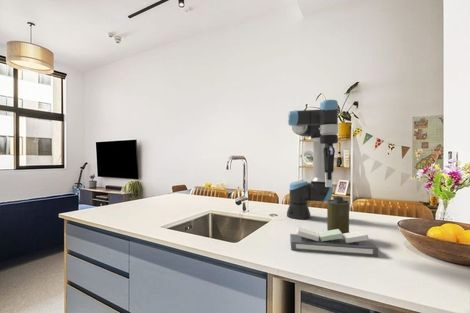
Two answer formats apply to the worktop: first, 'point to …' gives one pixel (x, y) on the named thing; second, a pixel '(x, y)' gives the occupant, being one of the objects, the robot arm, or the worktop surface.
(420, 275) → the worktop surface
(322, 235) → the rocker mid
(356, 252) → the rocker switch panel
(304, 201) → the robot arm
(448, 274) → the worktop surface
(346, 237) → the block
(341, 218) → the canister
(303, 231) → the block
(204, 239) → the worktop surface
